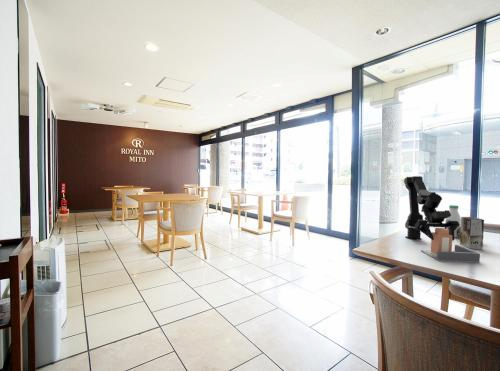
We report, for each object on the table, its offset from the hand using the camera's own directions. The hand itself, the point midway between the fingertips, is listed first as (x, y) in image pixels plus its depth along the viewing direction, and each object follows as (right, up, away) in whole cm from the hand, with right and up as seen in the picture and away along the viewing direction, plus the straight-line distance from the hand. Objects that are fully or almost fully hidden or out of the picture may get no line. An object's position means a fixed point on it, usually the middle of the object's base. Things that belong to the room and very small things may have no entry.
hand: (443, 240), depth 125 cm
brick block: (0, -7, +2) cm, 7 cm away
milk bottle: (+37, -6, +41) cm, 55 cm away
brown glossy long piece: (+37, -7, +29) cm, 47 cm away
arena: (+3, -8, 0) cm, 9 cm away
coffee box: (+28, -8, +17) cm, 34 cm away
